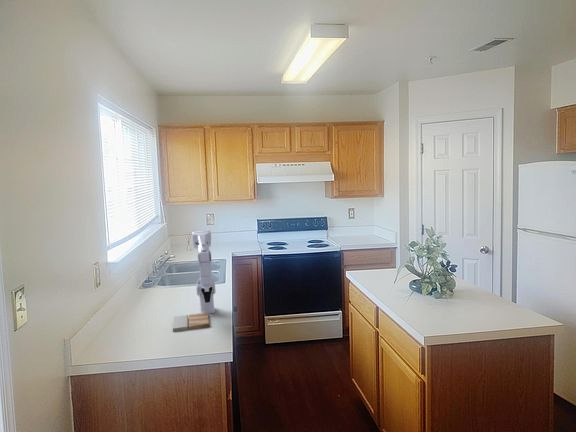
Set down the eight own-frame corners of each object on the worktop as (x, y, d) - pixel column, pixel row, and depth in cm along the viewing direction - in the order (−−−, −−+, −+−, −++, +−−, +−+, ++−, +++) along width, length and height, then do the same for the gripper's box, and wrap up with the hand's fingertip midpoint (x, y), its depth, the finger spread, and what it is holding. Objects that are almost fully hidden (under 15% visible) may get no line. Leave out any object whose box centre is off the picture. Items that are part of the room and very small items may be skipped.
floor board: (174, 319, 219) (174, 316, 219) (188, 317, 220) (188, 314, 220) (172, 331, 201) (172, 328, 201) (188, 329, 203) (187, 326, 203)
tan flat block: (188, 317, 220) (188, 314, 220) (207, 315, 222) (207, 312, 222) (188, 329, 203) (188, 326, 203) (209, 326, 205) (209, 323, 205)
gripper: (197, 273, 219) (199, 298, 220) (197, 279, 205) (199, 307, 206) (211, 271, 220) (213, 297, 221) (212, 278, 206) (214, 305, 207)
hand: (207, 302), depth 214 cm, fingers closed
